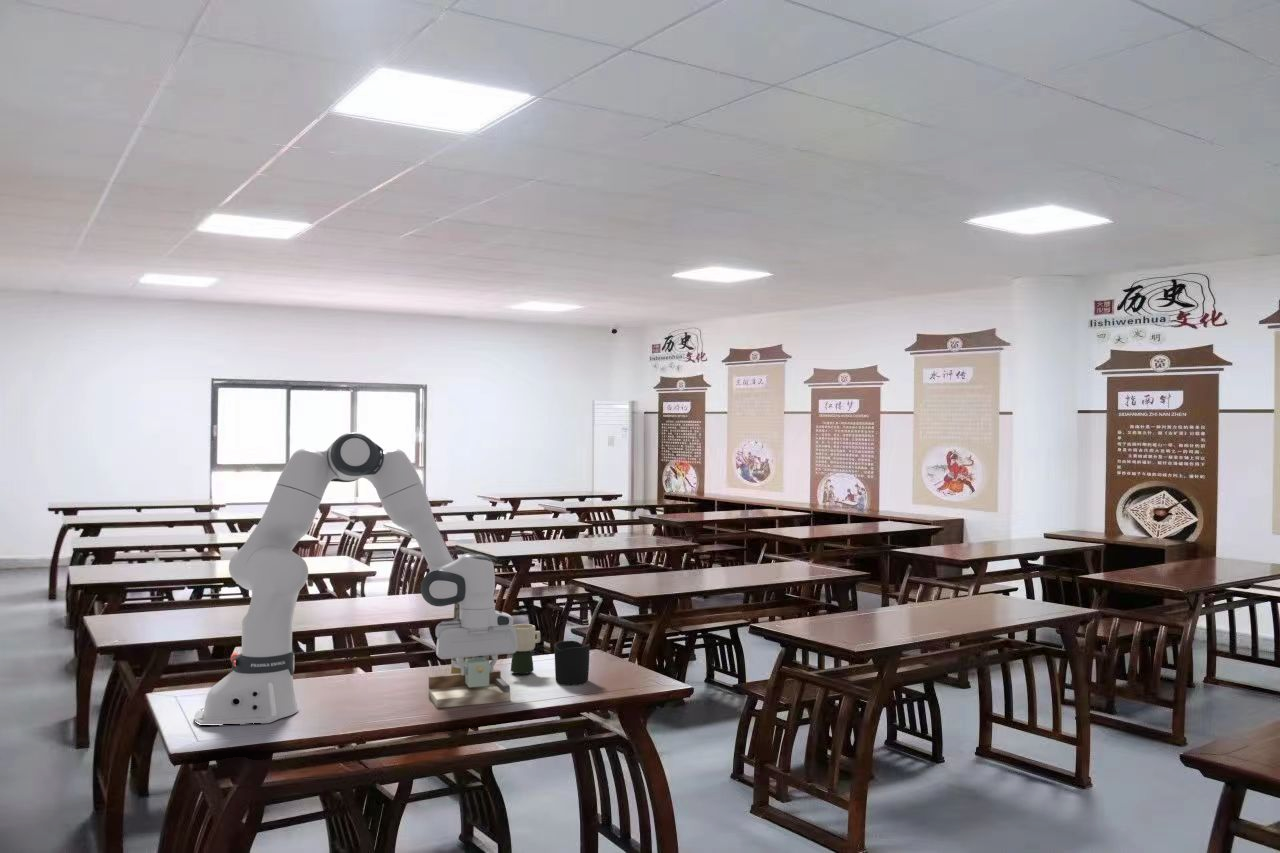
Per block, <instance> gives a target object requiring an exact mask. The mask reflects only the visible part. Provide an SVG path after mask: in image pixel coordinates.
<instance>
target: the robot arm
mask: <svg viewBox="0 0 1280 853" xmlns="http://www.w3.org/2000/svg"><path fill="white" fill-rule="evenodd" d="M359 479H366V480H367V481H369V482H370V483H371V484H372V485H373V487H374V488H375V490H376V493H377V496H378V499H379V500H380V502H381V506H382V507H383V509H384V511H385V512H386V514H387V516H388V518H389V519H390V520H391V522H392V523H393V524H394V525H396V526H398V527H400V528H401V529H403V530H405V531H407V532H408V533H409V534H410V535H412V536H413V538H414V539H415V541H416V542H417V544H418V546H419V549H420V550H421V553H422V555H423V557H424V559H425V561H426V564H427V566H428V568H429V572H427V573H426V574H425V575H424V576H423V578H422V580H421V583H420V592H421V593H420V594H421V596H422V598H423V599H424V600H425V601H426V602H427V604H429V605H431V606H433V607H440V608H441V607H446V606H450V605H454V604H455V603H458V604H459V606H460V607H459V620H454V619H451V620H442V621H441V622H439V623H437V625H436V626H435V637H436V638H437V639H436V645H435V646H436V648H435V654H436V656H437V658H439V659H440V660H450V659H451V660H452V658H456V661H457V662H458V664H459V666H460V667H461V675H468V668H467V667H464V666H463V664H462V663H461V662H463V661H464V657H475V656H478V657H486V656H490V658H491V660H490V661H489V673H493V670H494V667H495V665H496V664H497V661H498V660H499V655H508V654H513V653H515V652H516V651H517V649H518V641H517V633H516V630H515V628H514V627H513V626H512V625H514V618H513V616H512V615H510V613H507V612H503V611H499V610H496V603H495V600H494V596H495V591H496V576H495V575H496V574H495V567H494V563H493V561H492V559H491V558H490V557H489V556H487V555H485V554H480V553H476V552H475V553H473V552H467V553H464V554H463V553H462V555H461V556H460V557H458V558H456V559H455V558H454V557H453V555H452V554H451V551H450V549H449V548H448V546H447V544H446V542H445V540H444V537H443V536H442V532H441V531H440V529H439V526H438V525H437V523H436V520H435V518H434V513H433V511H432V508H431V504H430V501H429V498H428V495H427V493H426V489H425V486H424V484H423V482H422V480H421V477H420V476H419V474H418V472H417V470H416V468H415V466H414V465H413V463H412V462H411V460H410V458H409V456H407V454H406V453H405V452H404V451H403V450H401V449H400V448H399V449H398V448H388V449H383V448H382V447H381V446H380V445H378V444H377V443H375V442H374V441H373V440H372V439H371V438H370V437H368V436H366V435H364V434H362V433H359V432H346V433H344V434H342V435H340V436H339V437H338V438H337V439H335V440H334V441H333V442H332V443H331V445H330V446H329V447H327V449H326V450H322V451H321V450H316V449H313V448H301V449H298V450H296V451H295V452H294V453H293V454H292V455H291V456H290V458H289V460H288V461H287V463H286V465H285V466H284V468H283V470H282V472H281V474H280V475H279V478H278V480H277V481H276V482H277V483H276V484H275V487H274V489H273V492H272V493H271V496H270V499H269V501H268V503H267V506H266V509H265V510H264V513H263V514H262V517H261V518H260V521H259V522H258V523H257V525H256V527H255V528H254V529H253V531H252V532H251V533H250V535H249V537H248V538H247V540H246V541H245V543H244V544H243V545H242V546H241V547H240V548H239V549H238V550H236V552H234V554H232V557H231V558H230V560H229V564H228V572H229V575H230V578H231V579H232V580H233V581H234V582H235V583H236V584H237V585H238V586H239V587H241V588H243V589H245V590H247V591H251V598H250V603H249V607H248V610H247V612H246V615H244V616H243V619H242V620H241V621H242V622H241V653H237V652H234V653H232V654H231V655H230V662H231V669H232V671H230V672H229V673H228V674H227V675H226V676H224V677H223V678H222V679H221V680H219V681H218V682H217V683H215V684H214V685H213V686H212V687H211V688H210V689H209V691H208V693H207V695H206V699H205V704H204V707H203V708H200V709H199V710H201V711H199V710H197V711H196V712H195V714H194V717H195V721H196V722H198V723H200V724H240V725H244V724H243V723H253V724H252V725H255V724H254V723H261V724H270V723H273V722H275V721H277V720H280V719H282V718H286V717H290V716H292V715H294V714H296V713H297V712H299V711H300V708H299V705H298V702H297V697H296V693H295V687H294V686H295V684H294V672H295V654H294V650H293V619H294V613H295V608H296V605H297V601H298V597H299V594H300V591H301V590H302V588H303V587H304V586H305V585H306V583H307V581H308V579H309V578H308V577H309V567H308V565H307V562H306V561H305V560H304V558H303V557H301V555H299V554H298V553H296V552H294V551H293V550H294V548H295V547H296V545H297V544H298V542H299V541H300V540H301V539H302V538H303V537H304V536H306V535H307V533H308V532H309V531H310V530H311V527H312V526H313V522H314V521H315V520H314V519H315V517H316V514H317V512H318V511H319V507H320V505H321V502H322V500H323V497H324V494H325V491H326V489H327V488H328V485H329V484H330V483H331V482H335V483H336V482H339V483H352V482H355V481H357V480H359ZM203 709H204V711H202V710H203Z"/></svg>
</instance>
